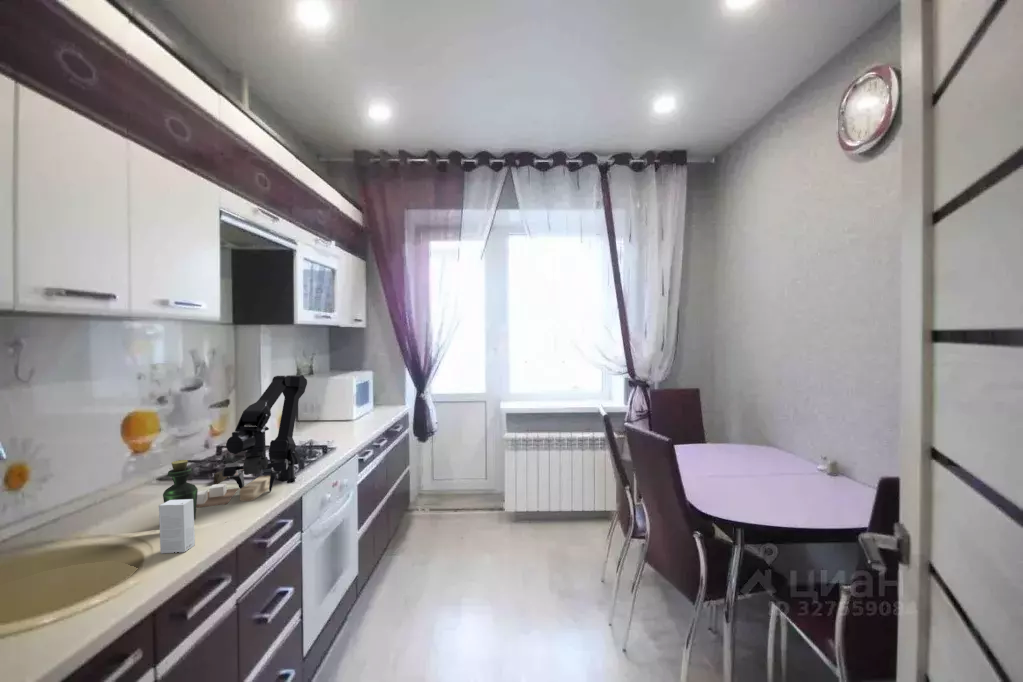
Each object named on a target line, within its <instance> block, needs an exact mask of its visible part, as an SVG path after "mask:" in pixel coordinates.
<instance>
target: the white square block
mask: <svg viewBox="0 0 1023 682" xmlns="http://www.w3.org/2000/svg"><path fill="white" fill-rule="evenodd" d="M208 492H209V490H207V489H205V490H198V492H197V504H204V503H205V502H206V501H207V500H208Z"/></svg>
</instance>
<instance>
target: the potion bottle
mask: <svg viewBox="0 0 1023 682" xmlns="http://www.w3.org/2000/svg"><path fill="white" fill-rule="evenodd" d="M188 463H189V461H188V460H187V459H180V460H179V459H178V460H174V461H172V462H171V466H172V469H170V470H168V472H167V475H166V476H167V477H169V478H171V479H172V482H173V484H172V485H170V486H169V487H168V488H166V489H165V490H164V491H163V493H162V498H163V503H165V502H167V501H169V500H184V499H193V507H194V521H195V520H196V519H197V518H196V517H197V508H196V505H197V492H198V491H199V489H198V487H197V486H196V485H195V484H193V483H190V482H187V481H188V477H189V475H191V474H192V473H193V470H192V467H187V466H188Z"/></svg>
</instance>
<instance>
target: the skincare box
mask: <svg viewBox="0 0 1023 682" xmlns="http://www.w3.org/2000/svg"><path fill="white" fill-rule="evenodd" d="M158 512H159V513H158V514H159V515H158V517H159V545H160V546H159V547H160V551H159V552H160V554H172V553H173V554H175V553H177V552H179V553H186V552H188V551H189V550H190V549H192V548H193V547H194V546H195V545H196V539H195V520H194V507H193V499H184V500H169V501H167V502H165V503H164V502H163V503H161V504H159V505H158ZM188 549H189V550H188ZM185 551H186V552H185ZM174 552H175V553H174Z"/></svg>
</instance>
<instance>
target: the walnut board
mask: <svg viewBox="0 0 1023 682" xmlns="http://www.w3.org/2000/svg"><path fill="white" fill-rule="evenodd" d="M238 490H240V488H231V489H229V488H228V489H227V492H226V493H225V495H224V496H219V497H210V498H209V491H208V500H207V501H206V502H205V503H204V504H197V505H196V509H197V508H203V507H204V508H205V507H213V506H215V507H216V506H223V505H228V504H229V502H230V501H231V500H232V498H233V497H234V496H235V494H236V493H237V492H238Z"/></svg>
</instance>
